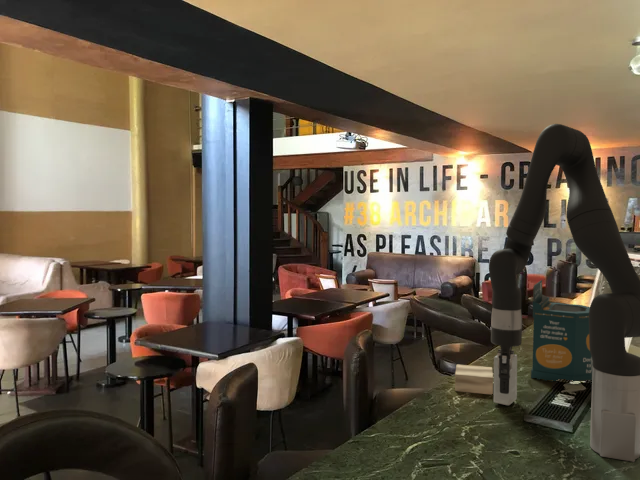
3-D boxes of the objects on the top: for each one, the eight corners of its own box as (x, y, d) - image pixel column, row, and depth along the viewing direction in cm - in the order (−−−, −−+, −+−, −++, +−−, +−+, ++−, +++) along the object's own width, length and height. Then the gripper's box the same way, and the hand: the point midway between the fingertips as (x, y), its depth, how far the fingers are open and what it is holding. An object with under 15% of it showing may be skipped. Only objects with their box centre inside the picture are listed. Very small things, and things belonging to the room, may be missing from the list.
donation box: (539, 364, 173) (541, 279, 172) (594, 372, 165) (597, 283, 163) (530, 378, 159) (533, 285, 158) (590, 387, 151) (593, 290, 149)
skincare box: (500, 396, 142) (501, 351, 141) (517, 399, 139) (517, 354, 138) (492, 402, 137) (493, 356, 136) (508, 406, 134) (509, 359, 134)
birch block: (492, 395, 145) (493, 377, 145) (455, 391, 148) (455, 374, 147) (491, 384, 154) (492, 367, 154) (456, 380, 157) (456, 364, 157)
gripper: (521, 332, 129) (519, 399, 130) (522, 321, 142) (521, 382, 143) (488, 330, 132) (487, 395, 133) (493, 319, 145) (492, 379, 146)
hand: (505, 388), depth 138 cm, fingers closed on skincare box, 7 cm apart
